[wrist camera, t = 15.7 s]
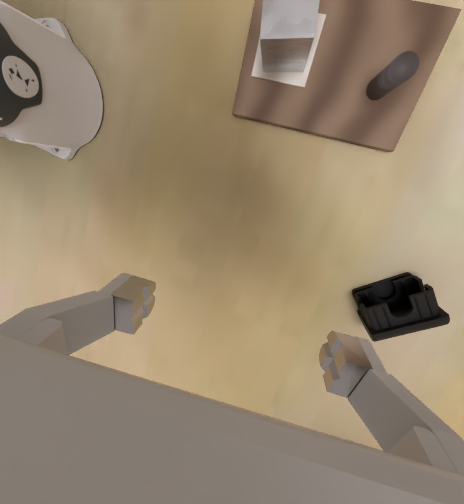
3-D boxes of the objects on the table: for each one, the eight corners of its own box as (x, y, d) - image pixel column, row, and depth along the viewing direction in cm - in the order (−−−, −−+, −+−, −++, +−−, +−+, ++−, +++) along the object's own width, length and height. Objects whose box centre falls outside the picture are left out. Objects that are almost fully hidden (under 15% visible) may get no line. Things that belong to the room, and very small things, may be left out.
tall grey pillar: (263, 72, 27) (259, 39, 21) (267, 20, 26) (265, -35, 19) (303, 72, 27) (314, 37, 20) (311, 18, 25) (325, -40, 18)
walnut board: (234, 115, 31) (223, 100, 24) (261, -16, 26) (256, -84, 19) (388, 152, 30) (423, 146, 23) (450, 18, 24) (521, -43, 17)
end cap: (361, 322, 39) (377, 350, 33) (347, 290, 38) (362, 314, 31) (424, 305, 36) (455, 333, 30) (412, 269, 34) (443, 291, 28)
